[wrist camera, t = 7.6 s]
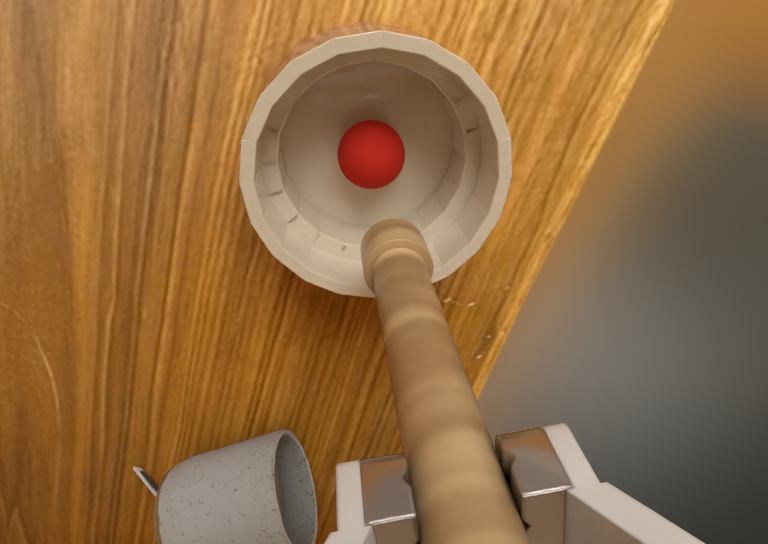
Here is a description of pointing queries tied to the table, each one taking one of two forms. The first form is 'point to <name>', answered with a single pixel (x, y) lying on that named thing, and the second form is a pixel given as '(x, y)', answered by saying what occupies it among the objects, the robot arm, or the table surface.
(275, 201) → the bowl
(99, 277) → the table surface
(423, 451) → the stir stick
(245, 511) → the ceramic mug
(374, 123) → the red ball
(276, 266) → the table surface
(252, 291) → the table surface
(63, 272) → the table surface
